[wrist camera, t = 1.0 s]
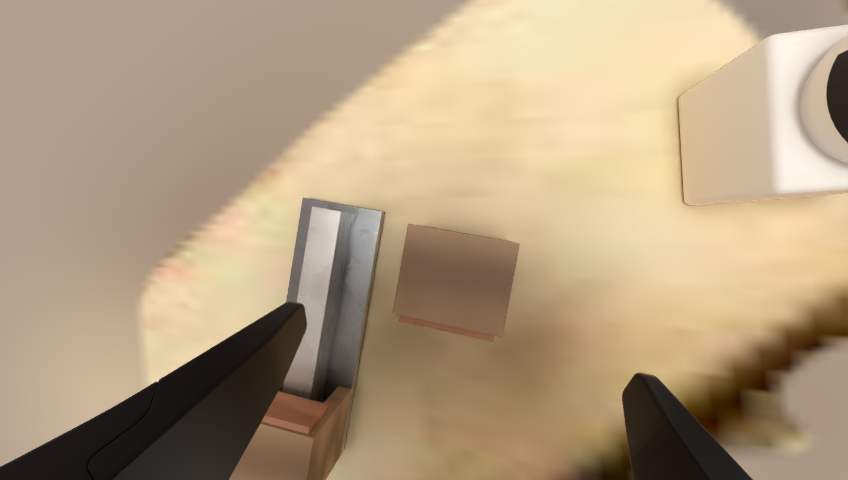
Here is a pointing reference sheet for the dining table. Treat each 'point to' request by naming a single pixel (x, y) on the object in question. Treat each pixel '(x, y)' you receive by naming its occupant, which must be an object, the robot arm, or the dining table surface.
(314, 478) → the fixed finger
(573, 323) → the dining table surface
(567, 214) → the dining table surface
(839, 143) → the medicine bottle
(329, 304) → the rail
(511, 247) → the block
